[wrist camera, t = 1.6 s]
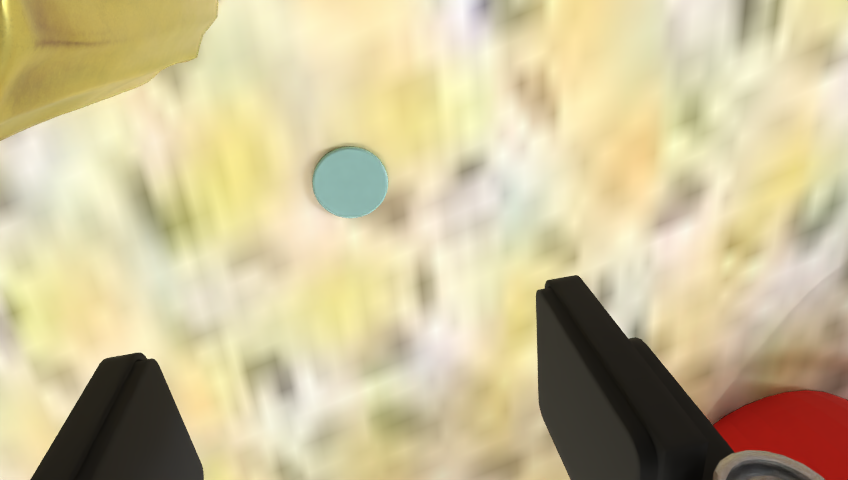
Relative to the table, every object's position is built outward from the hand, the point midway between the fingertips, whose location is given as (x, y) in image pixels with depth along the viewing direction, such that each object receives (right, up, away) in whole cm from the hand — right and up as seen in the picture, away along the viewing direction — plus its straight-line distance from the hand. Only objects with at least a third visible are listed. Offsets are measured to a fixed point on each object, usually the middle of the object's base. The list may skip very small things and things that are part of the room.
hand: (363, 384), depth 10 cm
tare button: (-2, +5, +10) cm, 12 cm away
